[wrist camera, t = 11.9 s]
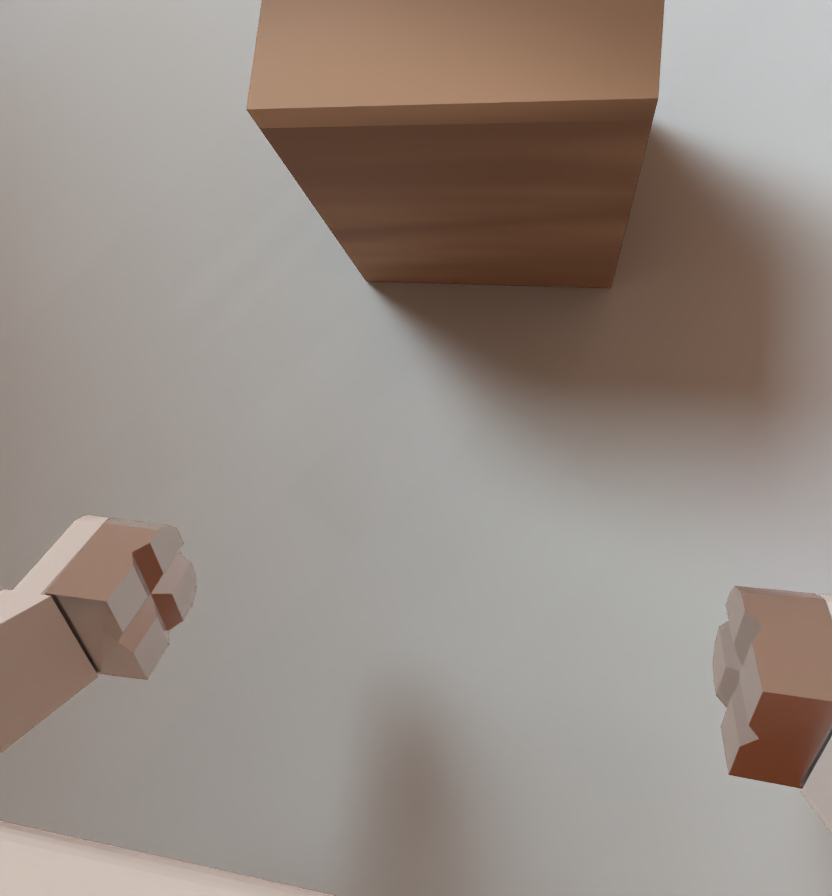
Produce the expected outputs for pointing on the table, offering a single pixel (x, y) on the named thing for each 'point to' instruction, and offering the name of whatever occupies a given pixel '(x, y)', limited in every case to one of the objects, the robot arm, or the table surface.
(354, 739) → the table surface
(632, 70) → the wooden toy cube
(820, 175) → the table surface
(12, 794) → the table surface
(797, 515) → the table surface
